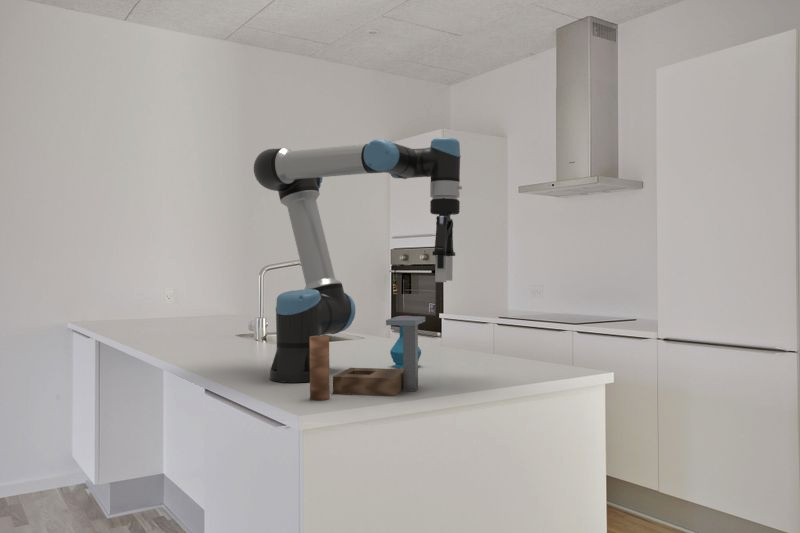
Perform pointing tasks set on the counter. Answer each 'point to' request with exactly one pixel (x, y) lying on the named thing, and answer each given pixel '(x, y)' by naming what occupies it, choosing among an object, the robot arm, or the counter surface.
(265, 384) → the counter surface
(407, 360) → the grey t-shaped block
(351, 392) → the socket board
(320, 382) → the peg
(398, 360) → the perfume bottle
